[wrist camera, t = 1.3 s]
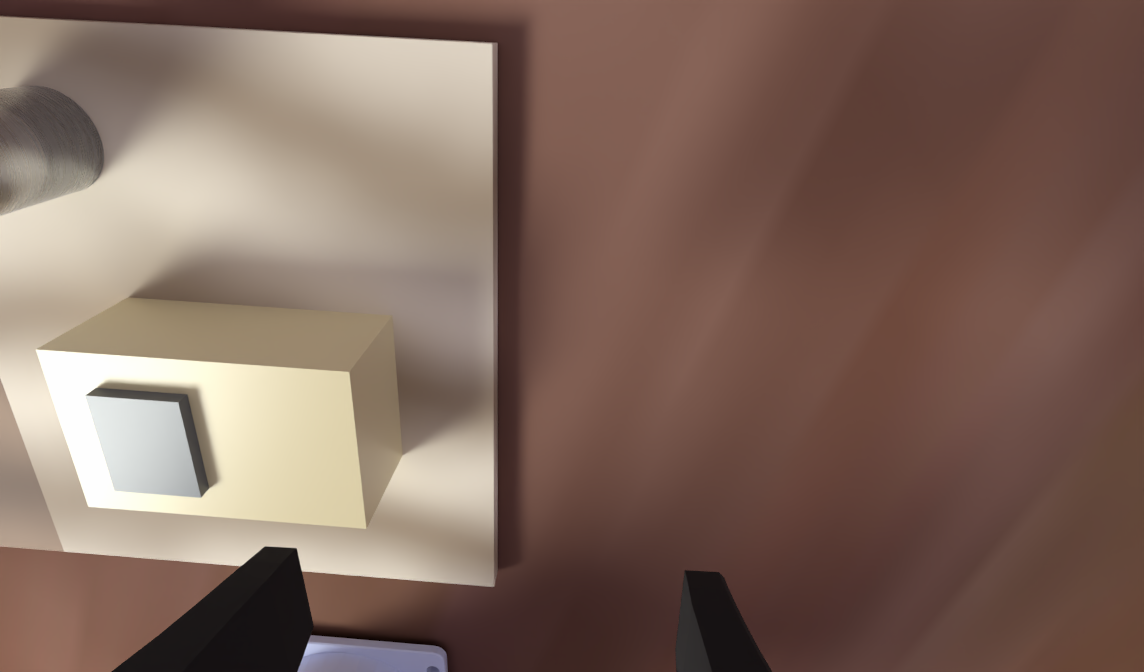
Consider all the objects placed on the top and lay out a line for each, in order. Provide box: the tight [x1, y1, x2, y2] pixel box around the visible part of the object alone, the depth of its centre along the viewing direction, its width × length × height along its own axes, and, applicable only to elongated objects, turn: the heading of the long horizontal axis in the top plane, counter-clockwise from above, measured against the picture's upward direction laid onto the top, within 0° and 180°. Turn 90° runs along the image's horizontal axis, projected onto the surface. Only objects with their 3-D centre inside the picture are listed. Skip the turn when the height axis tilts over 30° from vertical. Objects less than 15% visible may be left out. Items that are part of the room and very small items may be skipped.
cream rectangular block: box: [36, 297, 403, 529], centre depth 19 cm, size 5×8×4 cm, turn 87°
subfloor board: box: [0, 16, 498, 587], centre depth 21 cm, size 18×26×1 cm
